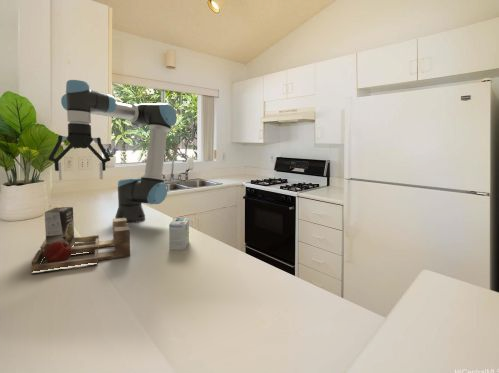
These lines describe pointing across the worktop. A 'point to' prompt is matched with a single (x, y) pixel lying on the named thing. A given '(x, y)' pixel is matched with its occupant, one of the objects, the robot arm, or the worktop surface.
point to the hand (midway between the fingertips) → (81, 179)
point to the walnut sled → (120, 251)
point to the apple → (57, 252)
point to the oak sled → (96, 236)
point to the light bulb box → (178, 234)
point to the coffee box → (59, 225)
